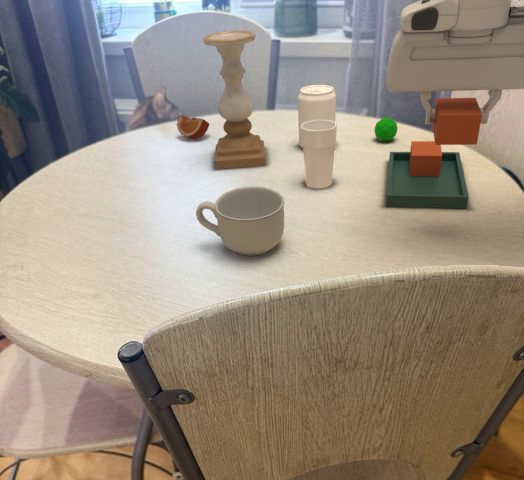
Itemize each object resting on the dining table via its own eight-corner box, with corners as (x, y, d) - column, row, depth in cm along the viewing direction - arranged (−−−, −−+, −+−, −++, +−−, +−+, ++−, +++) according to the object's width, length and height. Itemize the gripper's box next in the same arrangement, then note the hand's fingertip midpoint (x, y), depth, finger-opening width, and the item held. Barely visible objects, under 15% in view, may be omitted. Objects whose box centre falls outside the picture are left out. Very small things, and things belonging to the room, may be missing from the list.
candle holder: (264, 148, 122) (256, 28, 107) (266, 165, 114) (258, 37, 98) (216, 151, 122) (202, 32, 107) (214, 169, 114) (199, 42, 99)
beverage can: (336, 151, 117) (337, 92, 110) (299, 153, 118) (298, 95, 110) (333, 139, 124) (334, 83, 116) (298, 141, 124) (297, 85, 116)
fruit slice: (173, 138, 132) (169, 117, 128) (192, 131, 135) (189, 110, 132) (197, 144, 127) (194, 122, 124) (216, 136, 131) (214, 114, 128)
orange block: (470, 126, 79) (475, 97, 77) (476, 144, 73) (482, 114, 71) (432, 126, 80) (436, 98, 78) (435, 145, 74) (439, 115, 72)
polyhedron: (373, 143, 119) (374, 121, 116) (374, 136, 123) (375, 115, 120) (395, 144, 118) (398, 121, 115) (396, 136, 122) (398, 114, 119)
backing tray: (457, 162, 108) (459, 152, 107) (466, 208, 92) (468, 197, 90) (389, 161, 111) (389, 151, 109) (385, 206, 94) (386, 195, 93)
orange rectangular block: (437, 161, 107) (440, 141, 105) (439, 176, 102) (442, 155, 99) (409, 161, 109) (411, 141, 106) (409, 176, 103) (411, 155, 100)
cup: (342, 184, 103) (344, 125, 96) (314, 193, 101) (314, 133, 94) (322, 174, 108) (322, 117, 101) (295, 182, 105) (293, 124, 98)
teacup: (294, 234, 89) (292, 188, 84) (274, 267, 81) (271, 218, 76) (217, 227, 93) (211, 182, 88) (191, 257, 85) (183, 210, 80)
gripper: (556, 0, 67) (529, 115, 76) (390, 9, 71) (383, 117, 80) (568, 8, 63) (538, 129, 71) (390, 17, 67) (382, 131, 75)
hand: (455, 123), depth 76 cm, fingers closed on orange block, 5 cm apart
